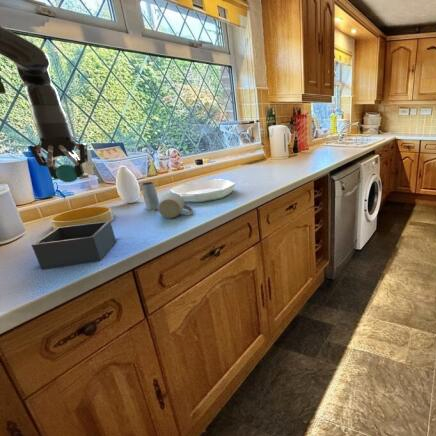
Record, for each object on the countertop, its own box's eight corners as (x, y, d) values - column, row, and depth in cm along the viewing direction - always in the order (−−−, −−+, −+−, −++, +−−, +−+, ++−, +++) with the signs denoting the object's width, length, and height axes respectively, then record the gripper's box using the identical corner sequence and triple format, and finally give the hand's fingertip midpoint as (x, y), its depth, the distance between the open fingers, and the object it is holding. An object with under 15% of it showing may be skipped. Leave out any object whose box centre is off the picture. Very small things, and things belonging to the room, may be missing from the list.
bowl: (44, 237, 93) (39, 224, 92) (68, 220, 108) (64, 209, 106) (104, 229, 98) (101, 217, 96) (120, 214, 112) (117, 204, 111)
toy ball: (55, 184, 92) (49, 166, 90) (63, 181, 97) (58, 163, 96) (77, 182, 94) (71, 164, 92) (84, 179, 99) (79, 162, 97)
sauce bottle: (132, 199, 132) (121, 158, 126) (147, 200, 130) (136, 158, 124) (116, 204, 125) (104, 161, 119) (131, 205, 123) (119, 161, 117)
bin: (41, 269, 73) (31, 245, 71) (65, 249, 84) (57, 227, 82) (100, 260, 76) (93, 237, 74) (116, 241, 87) (110, 221, 85)
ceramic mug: (159, 220, 104) (154, 199, 101) (163, 213, 111) (159, 193, 108) (192, 217, 107) (188, 196, 104) (194, 210, 114) (191, 190, 111)
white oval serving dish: (214, 206, 118) (212, 195, 116) (155, 206, 121) (152, 195, 120) (245, 187, 146) (244, 178, 145) (197, 187, 150) (195, 178, 149)
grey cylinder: (153, 211, 114) (146, 185, 111) (144, 210, 116) (137, 184, 112) (162, 207, 118) (156, 182, 115) (154, 207, 120) (148, 181, 116)
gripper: (13, 123, 84) (34, 182, 90) (74, 121, 88) (91, 177, 94) (28, 122, 91) (47, 177, 96) (84, 120, 95) (99, 173, 101)
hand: (69, 177), depth 95 cm, fingers closed on toy ball, 5 cm apart
